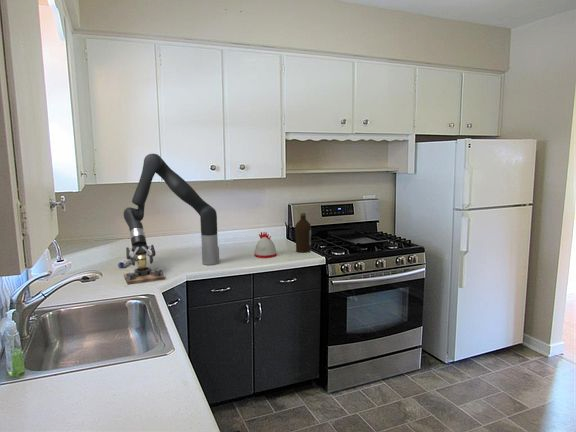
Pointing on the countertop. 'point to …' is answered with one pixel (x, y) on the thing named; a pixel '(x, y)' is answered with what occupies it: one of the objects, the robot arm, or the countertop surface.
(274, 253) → the grey pompom beanie hat
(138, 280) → the walnut shaft board
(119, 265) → the white capped tube
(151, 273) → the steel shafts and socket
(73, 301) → the countertop surface
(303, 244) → the olive oil
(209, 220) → the robot arm
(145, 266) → the cylinder
